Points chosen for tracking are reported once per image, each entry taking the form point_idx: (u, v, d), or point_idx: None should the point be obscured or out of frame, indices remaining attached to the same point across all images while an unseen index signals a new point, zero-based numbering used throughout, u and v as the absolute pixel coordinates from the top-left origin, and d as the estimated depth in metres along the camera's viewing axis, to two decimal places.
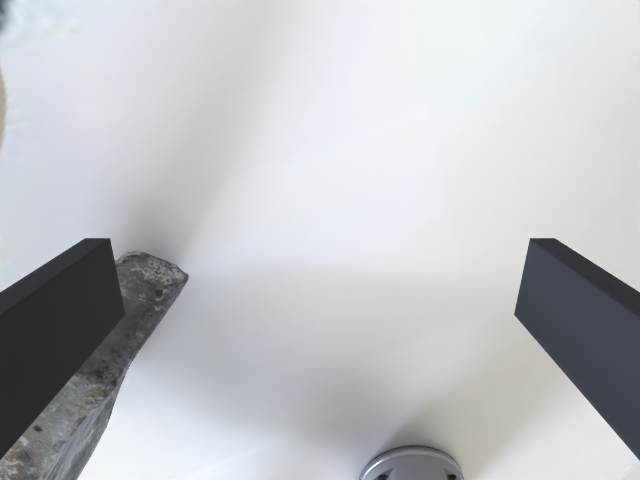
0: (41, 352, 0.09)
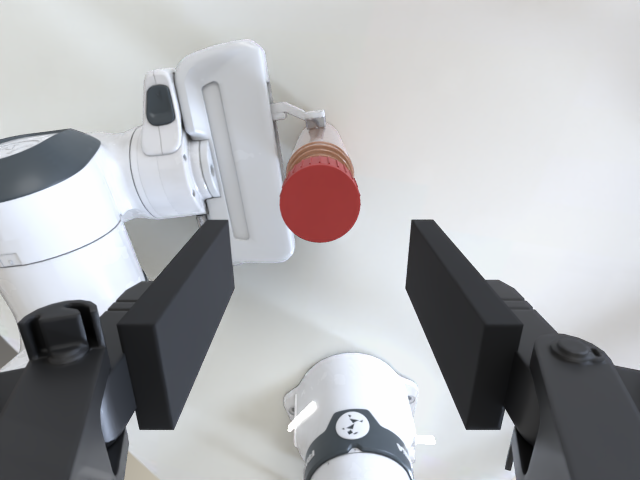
0: (203, 310, 0.11)
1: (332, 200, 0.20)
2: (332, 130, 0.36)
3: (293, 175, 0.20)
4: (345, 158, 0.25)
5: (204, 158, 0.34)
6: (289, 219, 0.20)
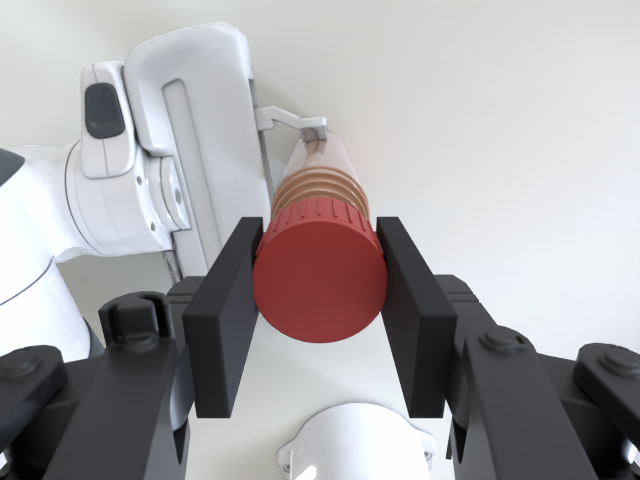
0: (247, 304, 0.11)
1: (340, 279, 0.12)
2: (336, 143, 0.27)
3: (273, 238, 0.11)
4: (357, 191, 0.17)
5: (166, 181, 0.26)
6: (268, 308, 0.12)
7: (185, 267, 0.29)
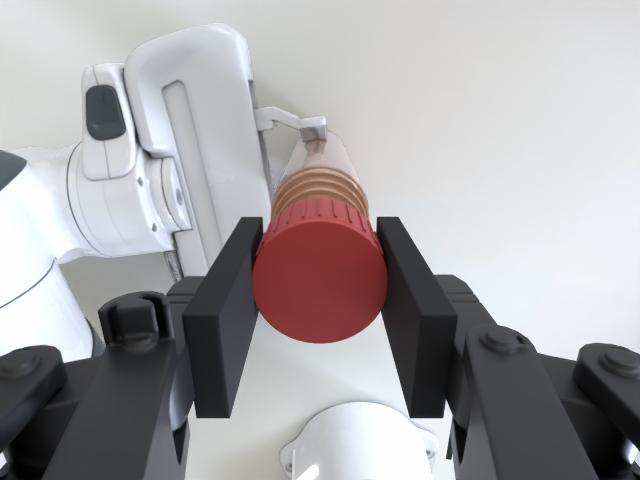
0: (247, 304, 0.11)
1: (306, 270, 0.12)
2: (336, 142, 0.28)
3: (285, 334, 0.12)
4: (357, 191, 0.17)
5: (167, 182, 0.26)
6: (357, 323, 0.12)
7: (186, 267, 0.29)
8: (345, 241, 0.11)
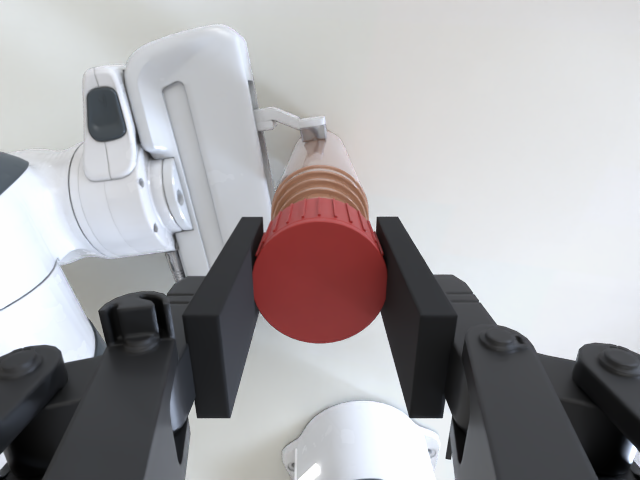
0: (247, 304, 0.11)
1: (306, 301, 0.12)
2: (335, 142, 0.28)
3: (383, 302, 0.12)
4: (356, 190, 0.17)
5: (168, 182, 0.26)
6: (351, 239, 0.11)
7: (188, 267, 0.29)
8: (266, 277, 0.12)
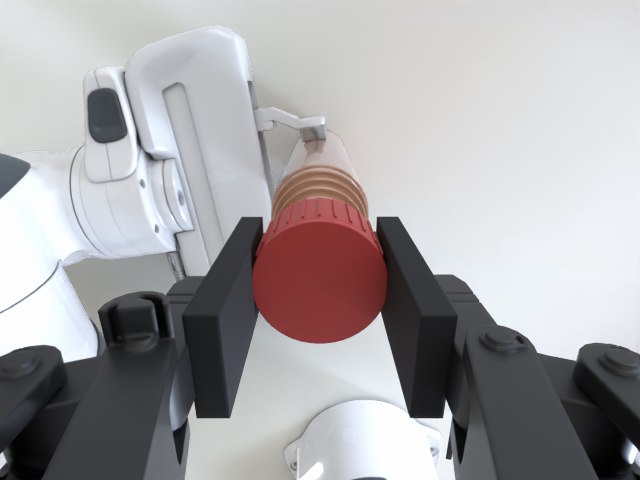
0: (247, 304, 0.11)
1: (340, 293, 0.12)
2: (335, 142, 0.28)
3: (318, 223, 0.11)
4: (356, 189, 0.18)
5: (169, 183, 0.26)
6: (262, 273, 0.12)
7: (189, 268, 0.29)
8: (325, 332, 0.12)
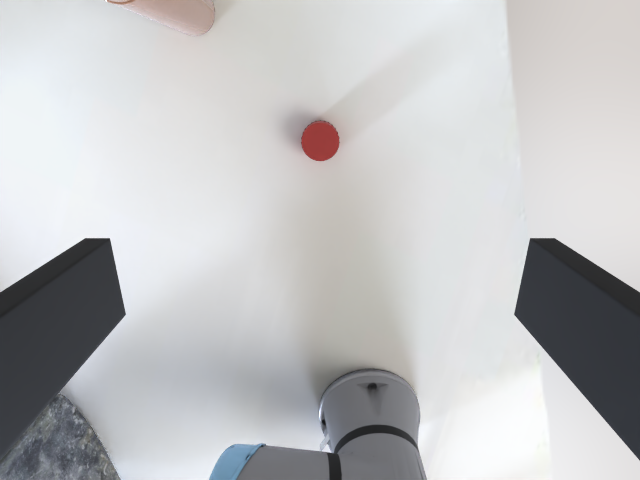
0: (41, 352, 0.09)
1: (325, 144, 0.44)
2: (191, 18, 0.36)
3: (320, 123, 0.43)
4: None
5: None
6: (304, 138, 0.43)
7: None
8: (322, 156, 0.44)
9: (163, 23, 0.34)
